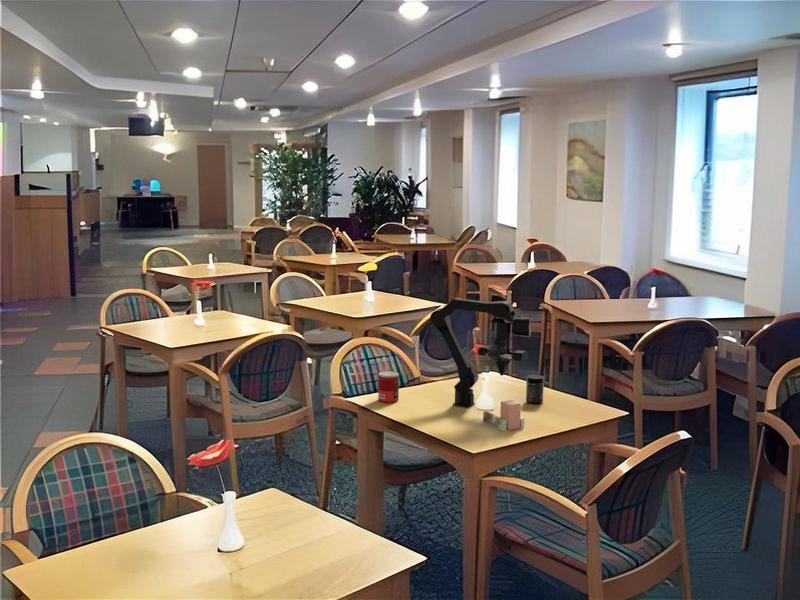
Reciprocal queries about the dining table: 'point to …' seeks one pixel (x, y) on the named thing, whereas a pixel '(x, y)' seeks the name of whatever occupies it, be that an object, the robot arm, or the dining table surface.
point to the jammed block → (511, 414)
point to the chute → (498, 421)
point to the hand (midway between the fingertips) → (501, 375)
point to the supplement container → (534, 389)
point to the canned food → (388, 387)
